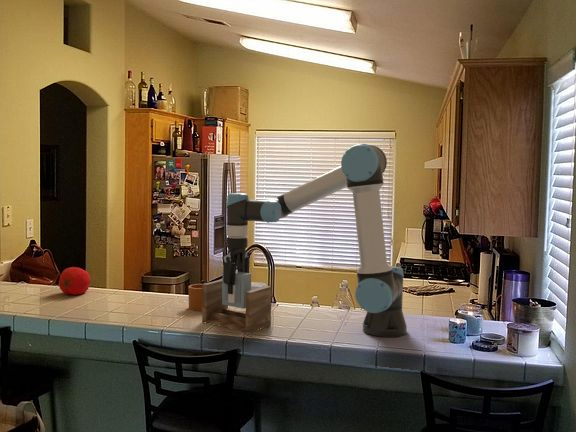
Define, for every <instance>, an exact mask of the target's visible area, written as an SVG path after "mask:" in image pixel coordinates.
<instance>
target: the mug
mask: <svg viewBox="0 0 576 432" xmlns="http://www.w3.org/2000/svg"><path fill="white" fill-rule="evenodd" d="M202 284H203V283H195V284H190V285H188V288H187V289H188V310H189V309H190V311H192V310H193V312H202Z"/></svg>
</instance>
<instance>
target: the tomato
mask: <svg viewBox="0 0 576 432" xmlns="http://www.w3.org/2000/svg"><path fill="white" fill-rule="evenodd" d="M91 281H92V279H91V276H90V274H89V272H88V271H86V270H84V269H83V268H81V267H76V266H72V267H67V268H65V269H64V270H63V271H62V272H61V274H60V278H59V280H58V286H59V289H60V291H61V292H62V293H63V294H66V295H74V296H76V295H77V296H78V295H83V294H84V293H86V292H87V291H88V290H89V288H90V285H91Z"/></svg>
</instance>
